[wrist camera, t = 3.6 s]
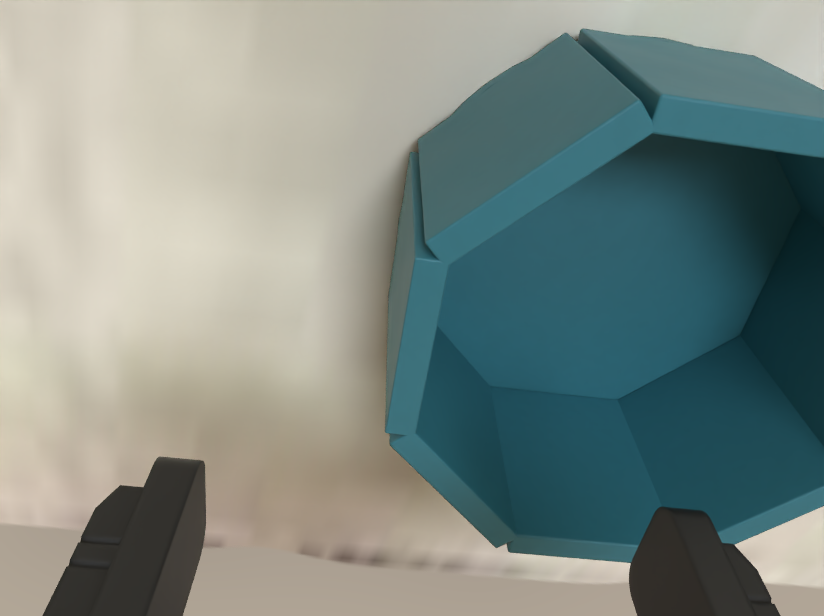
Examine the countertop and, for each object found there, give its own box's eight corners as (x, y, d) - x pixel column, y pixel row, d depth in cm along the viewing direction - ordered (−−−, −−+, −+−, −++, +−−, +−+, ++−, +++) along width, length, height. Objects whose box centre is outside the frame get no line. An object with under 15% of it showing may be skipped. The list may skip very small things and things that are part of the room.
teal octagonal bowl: (374, 380, 26) (366, 541, 20) (431, 0, 19) (447, 61, 13) (710, 416, 28) (804, 578, 21) (878, 72, 21) (1096, 159, 14)
